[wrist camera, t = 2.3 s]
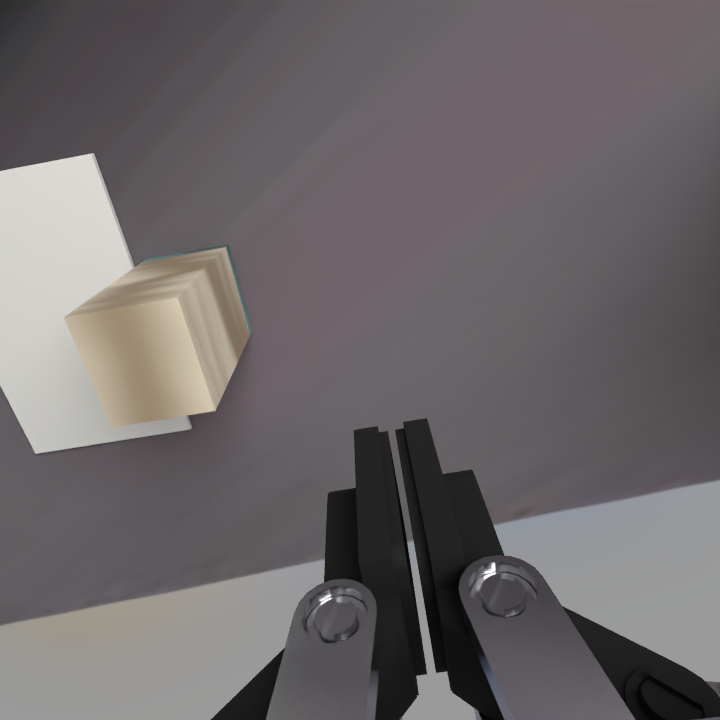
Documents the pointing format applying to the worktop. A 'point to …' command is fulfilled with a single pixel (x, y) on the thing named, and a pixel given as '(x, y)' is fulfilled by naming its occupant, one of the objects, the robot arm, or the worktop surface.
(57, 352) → the mat
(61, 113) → the worktop surface
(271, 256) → the worktop surface
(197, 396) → the tall block
